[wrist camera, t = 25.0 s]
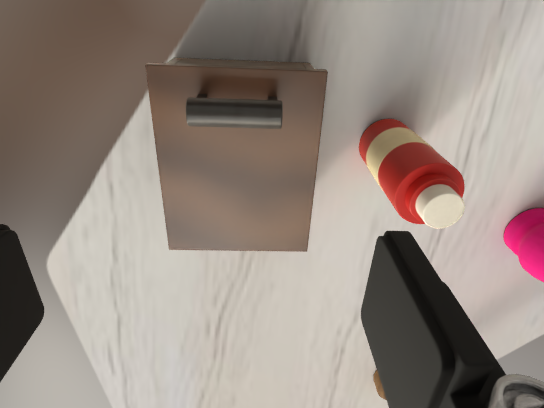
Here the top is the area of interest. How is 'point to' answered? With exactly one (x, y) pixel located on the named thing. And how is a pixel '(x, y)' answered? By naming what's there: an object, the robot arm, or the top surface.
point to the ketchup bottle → (413, 174)
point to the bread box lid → (236, 153)
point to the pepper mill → (528, 240)
